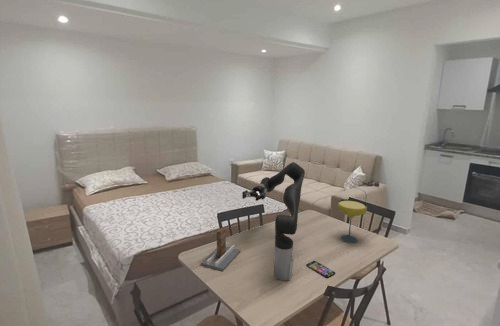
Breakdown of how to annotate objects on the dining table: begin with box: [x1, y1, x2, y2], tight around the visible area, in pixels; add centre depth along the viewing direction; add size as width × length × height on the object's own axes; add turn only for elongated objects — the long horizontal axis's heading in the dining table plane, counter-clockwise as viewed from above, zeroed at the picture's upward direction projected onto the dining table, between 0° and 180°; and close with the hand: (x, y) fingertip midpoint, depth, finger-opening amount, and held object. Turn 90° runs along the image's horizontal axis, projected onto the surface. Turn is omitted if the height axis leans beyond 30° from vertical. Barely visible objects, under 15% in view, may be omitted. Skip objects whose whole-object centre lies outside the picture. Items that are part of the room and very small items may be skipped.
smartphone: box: [306, 260, 336, 279], centre depth 153 cm, size 8×1×15 cm
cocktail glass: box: [337, 199, 368, 244], centre depth 186 cm, size 18×18×25 cm
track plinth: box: [200, 242, 241, 272], centre depth 162 cm, size 14×22×4 cm, turn 157°
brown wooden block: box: [216, 227, 227, 258], centre depth 161 cm, size 3×5×16 cm, turn 157°
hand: (249, 198), depth 170 cm, fingers open, 8 cm apart
